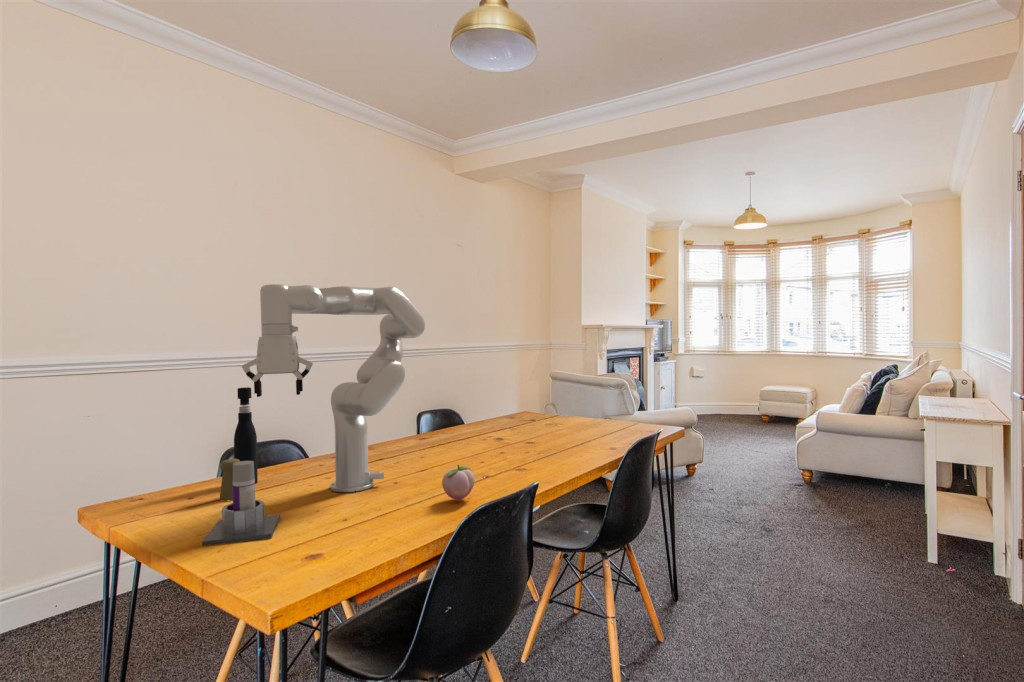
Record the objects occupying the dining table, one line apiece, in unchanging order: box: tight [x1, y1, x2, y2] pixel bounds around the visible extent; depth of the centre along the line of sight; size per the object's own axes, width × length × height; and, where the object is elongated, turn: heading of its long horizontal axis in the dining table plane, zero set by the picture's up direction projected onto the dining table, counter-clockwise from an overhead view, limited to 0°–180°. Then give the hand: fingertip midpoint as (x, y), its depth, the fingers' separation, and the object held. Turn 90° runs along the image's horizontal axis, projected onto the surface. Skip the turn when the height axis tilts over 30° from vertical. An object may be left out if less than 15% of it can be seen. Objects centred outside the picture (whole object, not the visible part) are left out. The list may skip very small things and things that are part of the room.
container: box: [232, 461, 256, 511], centre depth 124 cm, size 5×5×15 cm
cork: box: [219, 458, 240, 501], centre depth 150 cm, size 6×6×11 cm
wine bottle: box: [233, 386, 259, 485], centre depth 165 cm, size 6×6×30 cm
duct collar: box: [201, 499, 281, 547], centre depth 124 cm, size 14×14×6 cm
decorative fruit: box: [441, 464, 476, 502], centre depth 144 cm, size 9×8×10 cm
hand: (279, 395), depth 140 cm, fingers open, 9 cm apart
